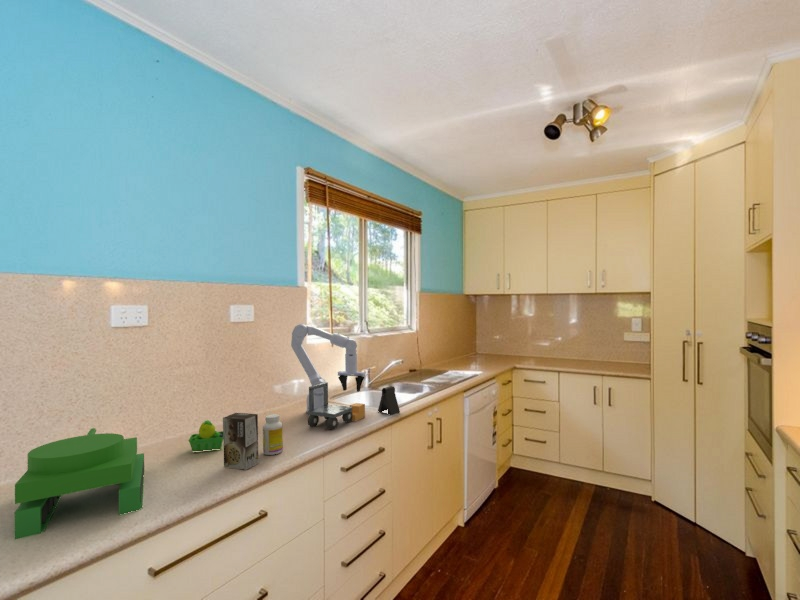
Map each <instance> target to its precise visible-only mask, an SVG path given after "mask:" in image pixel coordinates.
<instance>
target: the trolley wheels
mask: <svg viewBox="0 0 800 600" xmlns="http://www.w3.org/2000/svg"><path fill="white" fill-rule="evenodd" d="M352 416H353V415H352V412H351V411H350V412H348V413H346V414H343V415H341V417H342V418H341V419H342V421H343V423H348V422H349V423H351V422H352V421H351V420H352ZM323 418H324V419H325V420H326V428H327V429H328V430H332V431H333V430H336V429H337V428H338V424H339V420H338V417H336V418H330V417H323ZM350 421H351V422H350ZM319 422H320V416H315V415H308V419H307V425H308V426H309V427H312V428H313V427H317V426H318V425H319Z"/></svg>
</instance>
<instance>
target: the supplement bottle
mask: <svg viewBox="0 0 800 600" xmlns="http://www.w3.org/2000/svg"><path fill="white" fill-rule="evenodd" d="M283 434H284V433H283V423H282V422H281V421H280V415H279V414H276V413H274V414H268V415H266V416H265V423H264V424H263V425H262V451H263V454H264V455H267V456H275V454H276V455H278V454H281V453H282V452H283V451H284V441H283V439H284V438H283V437H284V435H283Z"/></svg>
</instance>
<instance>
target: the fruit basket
mask: <svg viewBox="0 0 800 600" xmlns="http://www.w3.org/2000/svg"><path fill="white" fill-rule="evenodd" d="M188 442H189V445H190V447H191V452H192V451H203V450H212V449H220V450H221V449H222V445H223V430H221V431H216V426H215V425H214V424H213V422H211V421H210V420H205V421H203V422H202V423H201V424H200V426H199V428H198V433H193V434H191V435H190V437H189V439H188Z"/></svg>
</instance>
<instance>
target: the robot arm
mask: <svg viewBox="0 0 800 600" xmlns="http://www.w3.org/2000/svg"><path fill="white" fill-rule="evenodd" d="M306 336H316V337H320V338H323V339H325V340H328V341H329V342H330V344H331V345H335V346H337V347H340V348H342V349H343V348H345V355H344V356H345V357H344V358H345V359H344V360H345V361H344V362H345V365H344V367H345V368H344V369H345V370H344V371H343V370H342V371H341V370H340V371H339V370H338V371H337V376H338V379H339V381H340V384H341V386H342V391H343V392H344V391H345V392H346V391H347V386H348V385H347V383H348V377H355V378H354V379H355V383H356V384H355V385H356V393H357V392H358V393H359V392H361V389H362V384H363V381H364V380H365V377H366V372H363V371H358V354H357V350H358V348H357V347H358V344H357V341H356V340H355V339H354V338H350V336H345V335H343V334H341V333H340V332H334V333H331V332H328V331H326V330H323V329H321V328H318V327H315V326H313V325H308V324H305V323H299V324H297V325H295V326H294V328H293V329H292V332H291V343H290V347H291V348H292V351H293V352H294V354H295V356H296V357H297V359H298V362H299V363H300V364H301V367H302V369H303V370H304V372H305V373H306V375H307V377H308V380H309V383H310V386H314V385H317V384H321V383H324V382H327V381H326V380H325V379H324V378H322V377H321V375H320V374H319V372H318V371H317V369H316V367H315V366H314V363H313V362H312V360H311V358H310V357H309V354H308V353H307V351H306V349H305V348H304V345H303V343H304V340H305V337H306ZM323 405H324V390H323V387H321V388H318V389H315V390H314V409H315V408H317V407H320V406H323ZM308 411H309V393H308V394H307V396H306V410H305V413H308Z"/></svg>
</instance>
